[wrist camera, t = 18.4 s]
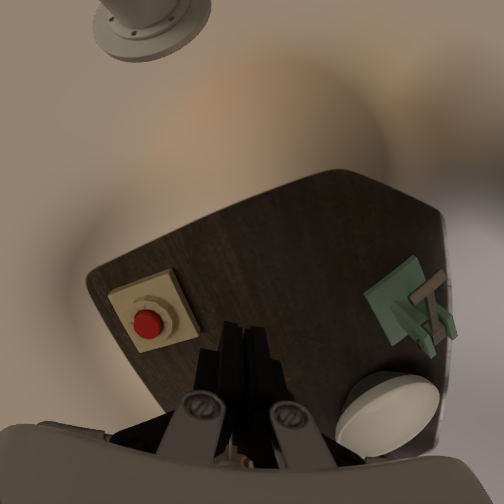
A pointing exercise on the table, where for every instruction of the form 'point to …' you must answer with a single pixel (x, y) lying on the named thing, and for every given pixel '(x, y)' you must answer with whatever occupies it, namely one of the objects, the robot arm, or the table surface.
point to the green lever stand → (405, 307)
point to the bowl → (385, 412)
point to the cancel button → (147, 324)
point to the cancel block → (156, 309)
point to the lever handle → (430, 305)
